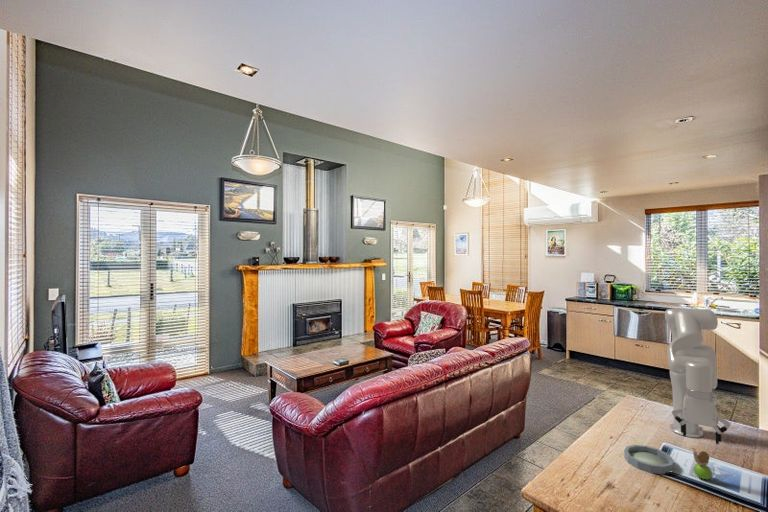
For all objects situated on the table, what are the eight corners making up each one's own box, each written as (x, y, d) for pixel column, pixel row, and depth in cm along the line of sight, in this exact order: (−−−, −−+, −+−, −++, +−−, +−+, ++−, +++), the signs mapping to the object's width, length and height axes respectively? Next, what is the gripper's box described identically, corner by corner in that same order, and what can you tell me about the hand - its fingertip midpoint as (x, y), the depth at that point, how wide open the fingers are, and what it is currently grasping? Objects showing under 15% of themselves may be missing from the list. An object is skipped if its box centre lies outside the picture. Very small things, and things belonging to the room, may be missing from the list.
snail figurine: (687, 475, 146) (686, 444, 146) (702, 473, 147) (701, 443, 147) (700, 483, 141) (699, 451, 141) (716, 482, 142) (715, 450, 141)
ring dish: (630, 447, 168) (629, 441, 168) (676, 461, 156) (676, 454, 156) (620, 463, 156) (620, 456, 156) (669, 479, 144) (669, 471, 144)
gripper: (730, 396, 140) (731, 442, 140) (672, 386, 152) (673, 428, 152) (729, 402, 135) (730, 450, 135) (669, 391, 147) (671, 435, 147)
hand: (700, 438), depth 143 cm, fingers open, 9 cm apart
